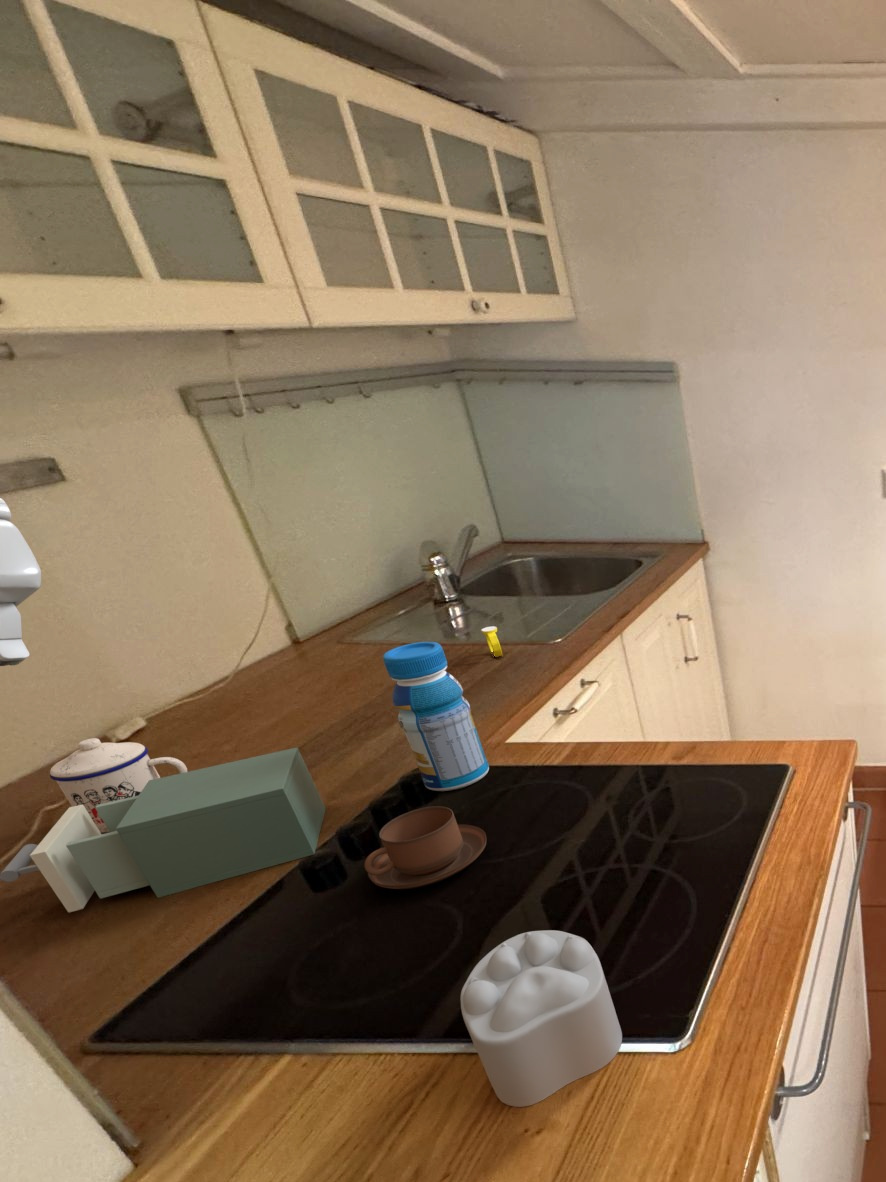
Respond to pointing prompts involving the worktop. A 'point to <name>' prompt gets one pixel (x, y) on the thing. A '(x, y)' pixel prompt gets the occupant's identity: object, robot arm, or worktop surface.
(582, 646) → the worktop surface
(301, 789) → the cabinet
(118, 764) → the teacup with lid
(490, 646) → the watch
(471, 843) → the cup and saucer
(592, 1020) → the lumpy-topped squat cylinder
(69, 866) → the drawer
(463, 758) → the beverage bottle
